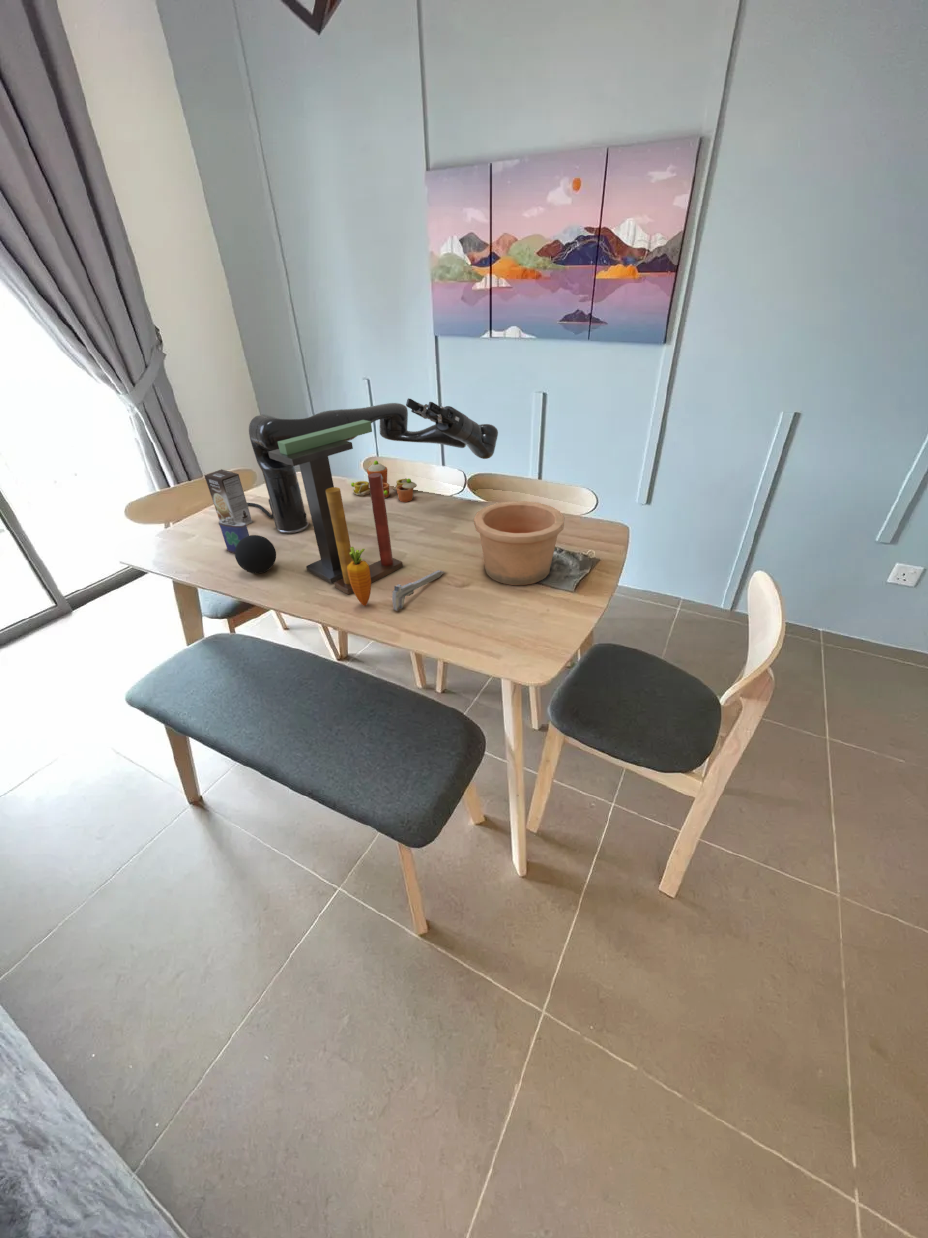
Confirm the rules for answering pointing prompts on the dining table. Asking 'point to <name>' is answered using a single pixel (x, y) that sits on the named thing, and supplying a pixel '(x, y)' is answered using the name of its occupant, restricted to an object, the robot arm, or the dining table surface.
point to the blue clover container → (233, 532)
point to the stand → (319, 502)
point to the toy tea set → (386, 484)
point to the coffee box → (228, 496)
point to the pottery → (518, 540)
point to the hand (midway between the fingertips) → (418, 403)
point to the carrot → (359, 576)
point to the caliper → (411, 589)
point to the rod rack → (382, 531)
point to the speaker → (255, 554)
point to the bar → (324, 437)
